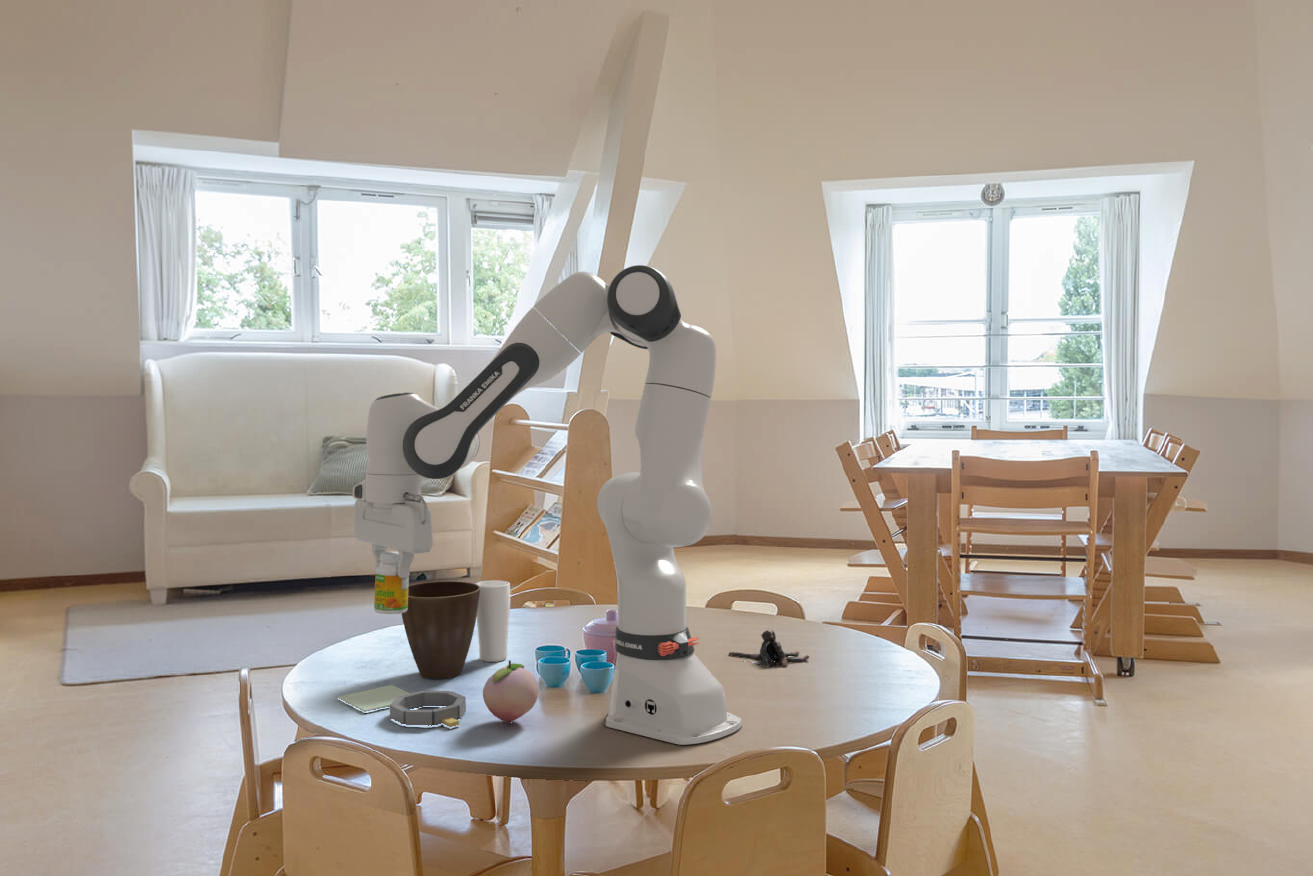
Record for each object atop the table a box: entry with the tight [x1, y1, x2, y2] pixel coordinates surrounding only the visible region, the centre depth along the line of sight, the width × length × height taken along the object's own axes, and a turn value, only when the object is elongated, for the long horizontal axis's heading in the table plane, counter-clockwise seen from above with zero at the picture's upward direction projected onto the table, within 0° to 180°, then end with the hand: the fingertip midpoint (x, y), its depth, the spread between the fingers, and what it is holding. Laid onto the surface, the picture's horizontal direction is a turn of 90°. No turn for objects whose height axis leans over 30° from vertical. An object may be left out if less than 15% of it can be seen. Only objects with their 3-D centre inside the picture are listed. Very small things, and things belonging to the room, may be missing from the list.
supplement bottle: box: [373, 551, 410, 615], centre depth 164 cm, size 5×5×10 cm
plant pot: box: [401, 580, 480, 680], centre depth 183 cm, size 15×15×16 cm
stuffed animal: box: [728, 628, 810, 668], centre depth 194 cm, size 12×10×12 cm
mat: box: [337, 684, 410, 712], centre depth 168 cm, size 10×10×1 cm
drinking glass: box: [475, 579, 511, 663], centre depth 194 cm, size 7×7×15 cm
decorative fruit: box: [482, 660, 539, 724], centre depth 156 cm, size 9×8×10 cm
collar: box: [389, 690, 467, 727], centre depth 159 cm, size 16×11×2 cm
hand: (392, 574), depth 164 cm, fingers closed on supplement bottle, 5 cm apart
